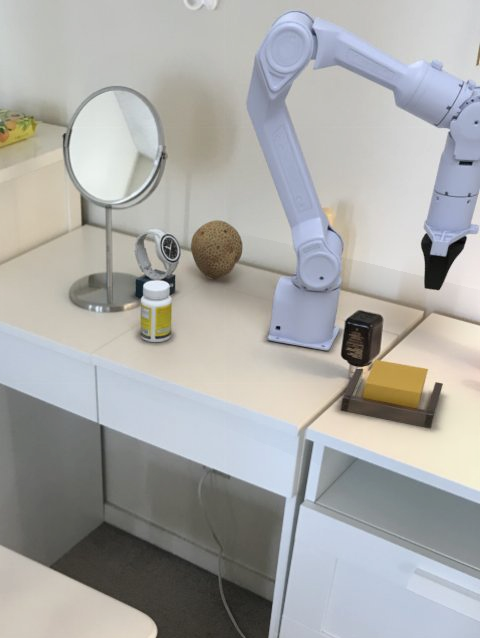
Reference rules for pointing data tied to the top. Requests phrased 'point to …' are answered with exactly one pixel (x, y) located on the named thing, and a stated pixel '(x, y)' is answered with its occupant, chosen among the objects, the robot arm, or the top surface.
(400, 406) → the bay
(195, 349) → the top surface
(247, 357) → the top surface
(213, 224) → the natural sponge
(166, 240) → the watch
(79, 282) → the top surface
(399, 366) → the block
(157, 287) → the supplement bottle
